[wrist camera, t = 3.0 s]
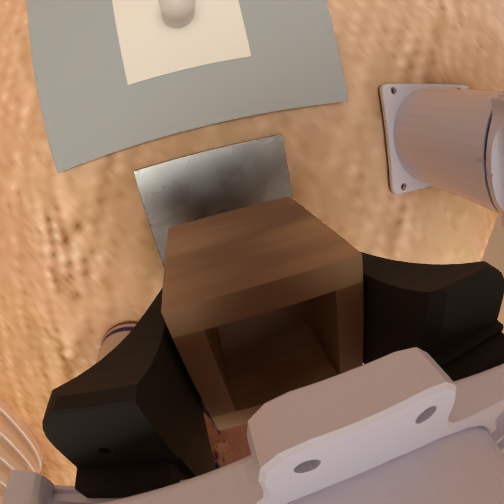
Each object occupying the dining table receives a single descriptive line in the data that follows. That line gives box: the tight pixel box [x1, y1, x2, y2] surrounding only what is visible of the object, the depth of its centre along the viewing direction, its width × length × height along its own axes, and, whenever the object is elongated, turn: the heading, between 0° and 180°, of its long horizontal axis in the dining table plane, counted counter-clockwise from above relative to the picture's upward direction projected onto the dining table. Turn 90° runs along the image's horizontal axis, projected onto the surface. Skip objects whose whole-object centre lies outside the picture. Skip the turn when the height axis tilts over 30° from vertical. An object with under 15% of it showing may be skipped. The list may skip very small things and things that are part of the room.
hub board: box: [27, 0, 348, 173], centre depth 13 cm, size 18×14×4 cm
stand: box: [134, 134, 293, 267], centre depth 19 cm, size 9×9×3 cm
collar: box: [161, 196, 364, 431], centre depth 11 cm, size 5×5×6 cm
